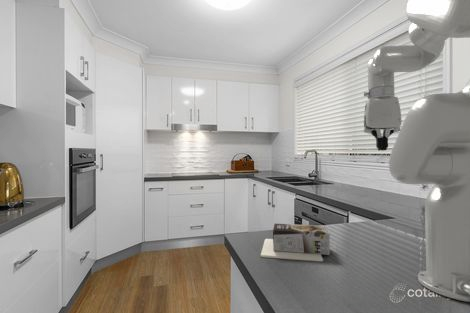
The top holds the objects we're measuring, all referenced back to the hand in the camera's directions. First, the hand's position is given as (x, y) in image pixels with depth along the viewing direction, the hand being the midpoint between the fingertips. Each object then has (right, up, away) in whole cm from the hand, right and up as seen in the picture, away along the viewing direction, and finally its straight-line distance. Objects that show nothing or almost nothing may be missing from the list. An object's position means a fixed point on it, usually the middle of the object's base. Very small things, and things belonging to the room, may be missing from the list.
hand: (382, 150), depth 83 cm
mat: (-31, -31, -5) cm, 44 cm away
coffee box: (-20, -27, -7) cm, 35 cm away
